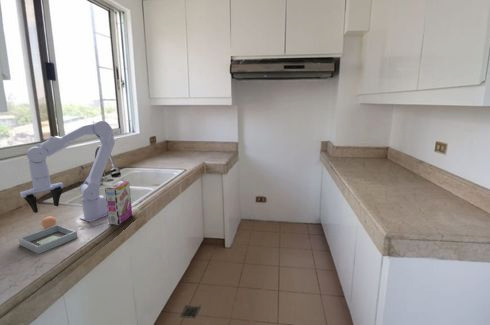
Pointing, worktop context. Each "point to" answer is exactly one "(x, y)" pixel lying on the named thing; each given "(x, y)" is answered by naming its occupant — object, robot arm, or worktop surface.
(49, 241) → the grey shallow square tray
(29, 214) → the worktop surface
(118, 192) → the candy bar box
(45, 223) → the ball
